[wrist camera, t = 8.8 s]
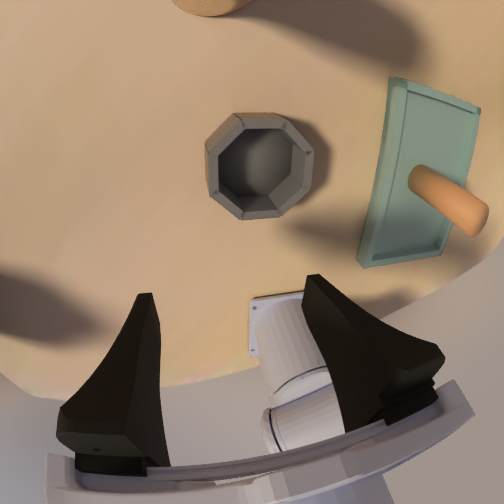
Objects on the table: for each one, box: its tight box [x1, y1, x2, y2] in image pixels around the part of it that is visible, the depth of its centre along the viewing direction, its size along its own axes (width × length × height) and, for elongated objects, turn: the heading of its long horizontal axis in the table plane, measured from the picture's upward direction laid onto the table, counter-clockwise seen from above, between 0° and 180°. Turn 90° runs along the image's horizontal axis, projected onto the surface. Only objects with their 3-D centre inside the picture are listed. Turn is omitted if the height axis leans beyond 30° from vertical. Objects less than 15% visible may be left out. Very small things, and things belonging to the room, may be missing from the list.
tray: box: [356, 77, 481, 268], centre depth 24 cm, size 18×12×2 cm, turn 179°
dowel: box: [408, 164, 489, 237], centre depth 20 cm, size 3×3×8 cm
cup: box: [205, 113, 315, 220], centre depth 19 cm, size 7×7×3 cm
